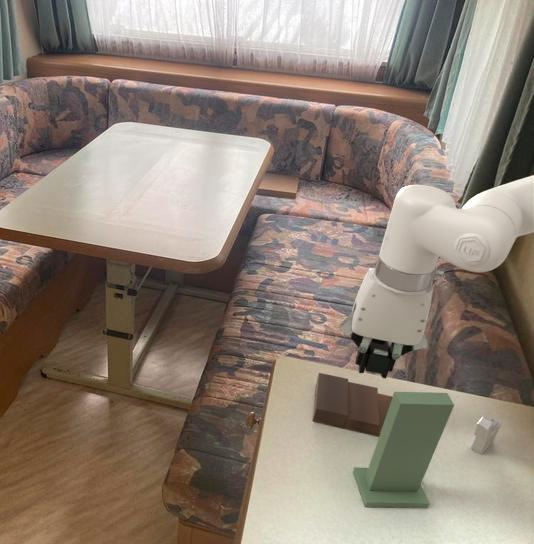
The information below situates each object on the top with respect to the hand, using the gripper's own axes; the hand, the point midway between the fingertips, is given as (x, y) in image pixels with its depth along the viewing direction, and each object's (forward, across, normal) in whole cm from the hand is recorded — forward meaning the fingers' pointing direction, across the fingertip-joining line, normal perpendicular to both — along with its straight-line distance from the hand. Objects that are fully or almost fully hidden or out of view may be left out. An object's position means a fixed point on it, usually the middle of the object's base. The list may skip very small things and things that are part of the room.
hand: (372, 369), depth 91 cm
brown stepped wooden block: (+9, 0, 0) cm, 9 cm away
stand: (+9, -4, +15) cm, 18 cm away
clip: (-1, 0, 0) cm, 1 cm away
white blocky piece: (+10, -18, +2) cm, 21 cm away
